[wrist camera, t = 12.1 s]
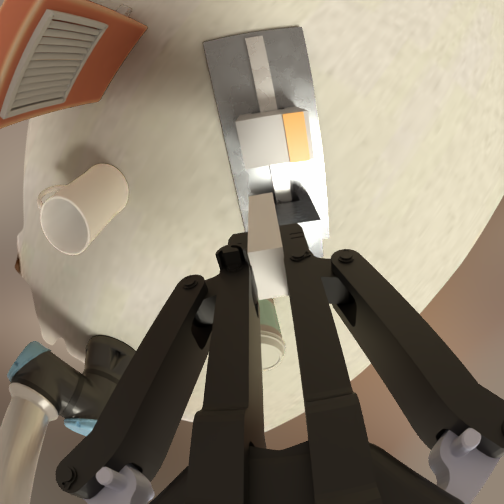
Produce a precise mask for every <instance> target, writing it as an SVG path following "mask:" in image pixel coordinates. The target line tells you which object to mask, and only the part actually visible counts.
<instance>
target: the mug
mask: <svg viewBox="0 0 504 504" xmlns="http://www.w3.org/2000/svg"><path fill="white" fill-rule="evenodd" d="M53 191H58V192H56V193H55V194H54V195H52V196H51V197H50V198H48V199H47V200H46V201H45V202H44V204H43V203H42V201H41V199H42V197H43V196H44V195H45V194H47V193H49V192H53ZM128 197H129V189H128V184H127V181H126V179H125V177H124V176H123V174H122V173H121V172H120V171H119V170H118V169H117V168H115V167H114V166H112V165H109V164H97V165H94V166H92V167H91V168H89V169H88V170H87V172H86V173H84V174H83V175H81V176H80V177H78V178H77V179H75V180H74V181H72V182H71V183H69V184H68V185H56V186H52V187H49V188H47V189H45V190H43V191H42V192H41V193H40V195H39V196H38V199H37V205H38V208H39V209H40V210H41V212H40V222H41V227H42V230H43V232H44V234H45V236H46V238H47V239H48V241H49V242H50V243H51V244H52V245H53V246H54V247H55V248H56V249H57V250H59V251H60V252H62V253H65V254H68V255H78V254H80V253H82V252H83V251H85V249H86V248H87V247H88V246H89V245H90V244H91V242H92V241H93V240H94V239H95V238H96V236H97V235H98V234H99V233H100V232H101V231H102V230H103V228H104V227H105V226H106V225H107V224H108V223H109V222H110V220H111V219H112V218H113V217H114V216H115V215H116V214H118V213H119V212H121V211H122V210H123V209H124V207H125V206H126V204H127V201H128Z"/></svg>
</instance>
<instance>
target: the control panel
mask: <svg viewBox="0 0 504 504" xmlns="http://www.w3.org/2000/svg"><path fill="white" fill-rule="evenodd" d="M131 11H132V9H131V8H130V7H128V6H125V5H121V6H120V7H119V8H118V9H117V10H116V11H114V10H112V9H109V8H107V7H104V6H102V5H99V4H97V3H94V2H91V1H88V0H5V1H4V2H3V4H2V6H1V7H0V129H1V128H3V127H6V126H9V125H12V124H15V123H18V122H21V121H23V120H27V119H30V118H33V117H36V116H40V115H43V114H47V113H50V112H54V111H58V110H62V109H66V108H70V107H74V106H79V105H83V104H88V103H93V102H99V101H100V99H101V97H102V96H103V94H104V92H105V90H106V89H107V87H108V85H109V84H110V82H111V80H112V79H113V77H114V75H115V74H116V72H117V71H118V69H119V68H120V66H121V64H122V63H123V61H124V60H125V58H126V57H127V55H128V54H129V53H130V51H131V50H132V48H133V47H134V46H135V44H136V43H137V41H138V40H139V39H140V37H141V36H142V35H143V33H144V32H145V31H146V29H147V28H148V27H147V26H146V25H144V24H142V23H140V22H138V21H136V20H134V19H132V18H129V17H128V16H129V14H130V13H131Z"/></svg>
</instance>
